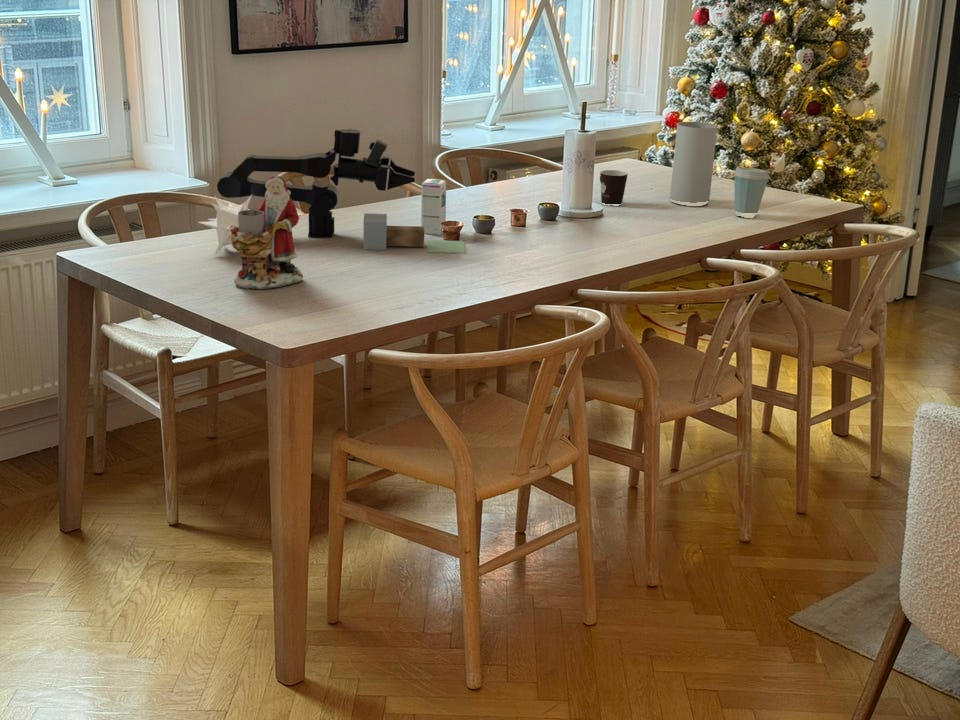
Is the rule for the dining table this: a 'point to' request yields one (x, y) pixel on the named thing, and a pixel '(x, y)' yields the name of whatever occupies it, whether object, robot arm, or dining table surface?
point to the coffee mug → (612, 186)
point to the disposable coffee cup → (749, 189)
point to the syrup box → (433, 205)
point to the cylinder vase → (693, 162)
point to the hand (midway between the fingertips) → (414, 176)
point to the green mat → (445, 246)
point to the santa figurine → (267, 240)
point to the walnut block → (405, 236)
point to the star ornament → (225, 221)
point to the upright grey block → (374, 231)
